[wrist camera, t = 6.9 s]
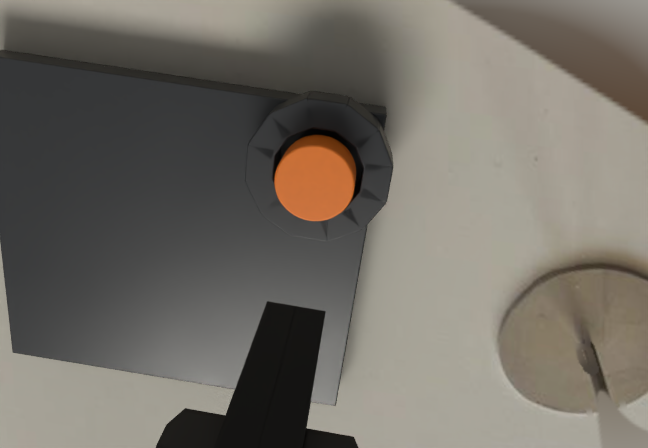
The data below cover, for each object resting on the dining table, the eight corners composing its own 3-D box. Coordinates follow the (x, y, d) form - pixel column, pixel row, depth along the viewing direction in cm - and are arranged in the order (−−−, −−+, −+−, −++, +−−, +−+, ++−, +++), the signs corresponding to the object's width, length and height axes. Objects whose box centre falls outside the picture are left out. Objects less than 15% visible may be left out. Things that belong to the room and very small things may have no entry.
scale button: (361, 140, 23) (360, 151, 21) (350, 211, 24) (348, 227, 23) (284, 128, 23) (277, 139, 22) (277, 200, 24) (270, 215, 23)
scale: (400, 96, 25) (403, 112, 22) (347, 387, 32) (343, 432, 29) (1, 37, 26) (-52, 44, 23) (29, 335, 32) (-9, 373, 29)
